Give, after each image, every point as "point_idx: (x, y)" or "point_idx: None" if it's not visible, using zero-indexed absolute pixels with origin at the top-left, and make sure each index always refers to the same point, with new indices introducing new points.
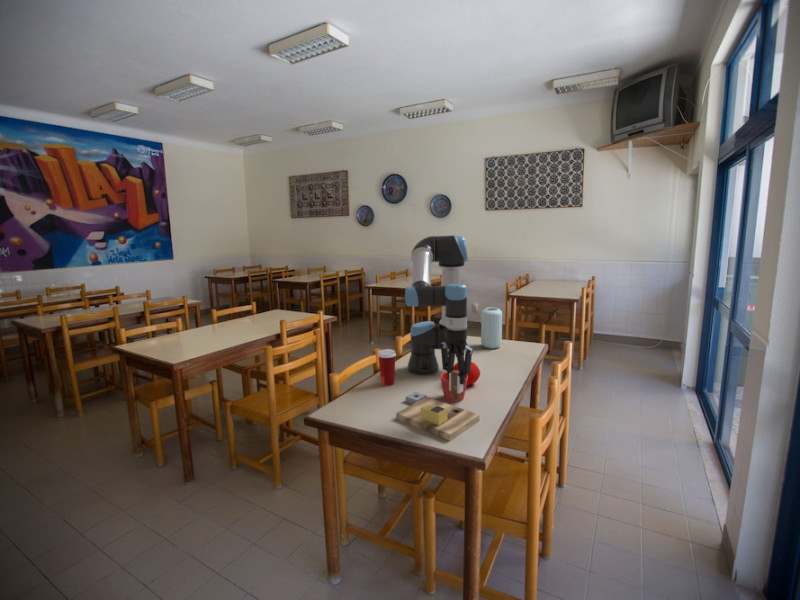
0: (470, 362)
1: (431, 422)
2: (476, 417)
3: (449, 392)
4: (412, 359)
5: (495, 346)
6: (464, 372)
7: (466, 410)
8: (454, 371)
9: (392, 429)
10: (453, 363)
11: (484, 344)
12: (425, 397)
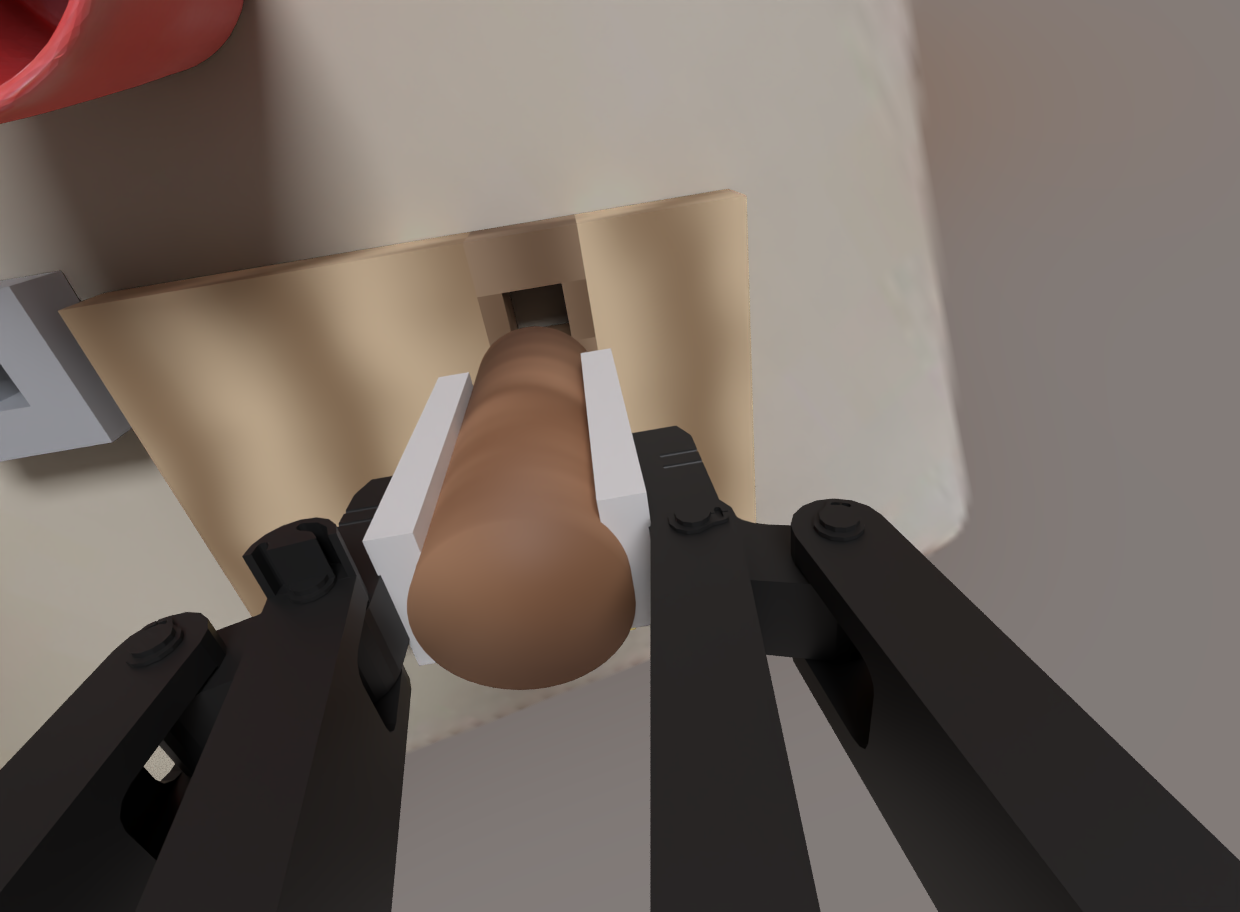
0: (1174, 839)
1: None
2: (745, 251)
3: (135, 86)
4: None
5: None
6: (836, 680)
7: (593, 224)
8: (461, 611)
9: (416, 693)
10: (330, 771)
11: None
12: (37, 305)
